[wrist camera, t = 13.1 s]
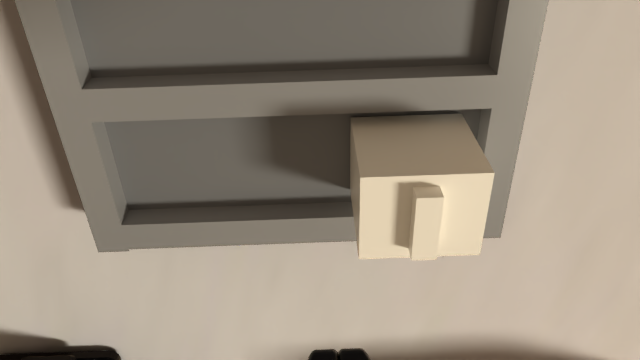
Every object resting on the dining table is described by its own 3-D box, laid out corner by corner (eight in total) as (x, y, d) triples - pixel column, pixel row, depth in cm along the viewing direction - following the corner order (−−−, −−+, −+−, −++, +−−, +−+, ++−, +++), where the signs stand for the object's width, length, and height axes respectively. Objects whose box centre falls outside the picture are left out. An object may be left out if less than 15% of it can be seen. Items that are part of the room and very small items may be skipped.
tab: (451, 187, 21) (485, 267, 17) (350, 190, 21) (360, 271, 17) (461, 113, 19) (501, 184, 15) (350, 117, 19) (362, 189, 15)
